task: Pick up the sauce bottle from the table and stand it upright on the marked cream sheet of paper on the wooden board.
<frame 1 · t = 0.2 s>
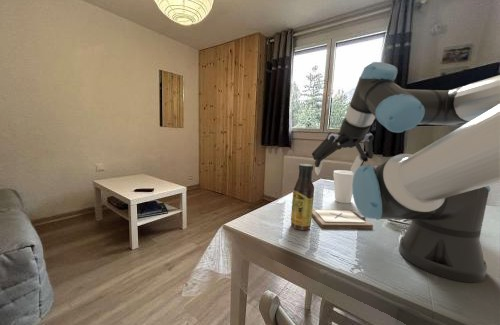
hand: (334, 172, 75), 16 cm above the table, tool tilted 35°, fingers open, 13 cm apart
foam cup: (342, 201, 93), on the table
wooden board: (338, 219, 72), on the table
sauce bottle: (300, 227, 66), on the table
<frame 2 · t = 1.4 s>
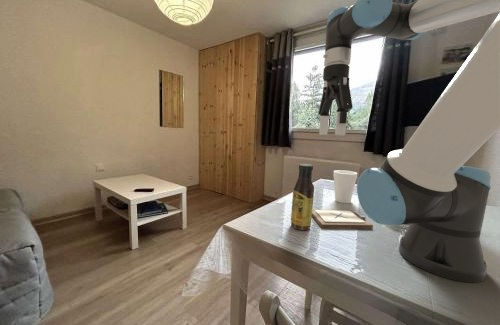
hand: (330, 134, 69), 29 cm above the table, tool pointing down, fingers open, 13 cm apart
nothing on the table moved.
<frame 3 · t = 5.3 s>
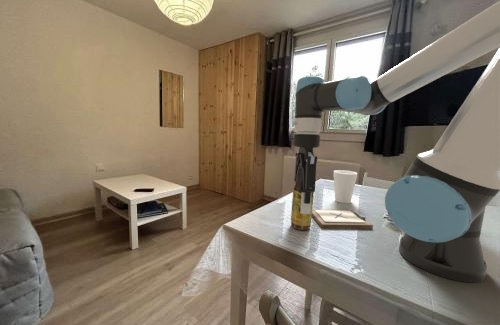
hand: (302, 208, 65), 6 cm above the table, tool pointing down, fingers closed on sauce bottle, 6 cm apart
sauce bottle: (300, 227, 66), on the table, touching gripper
everything else where it was.
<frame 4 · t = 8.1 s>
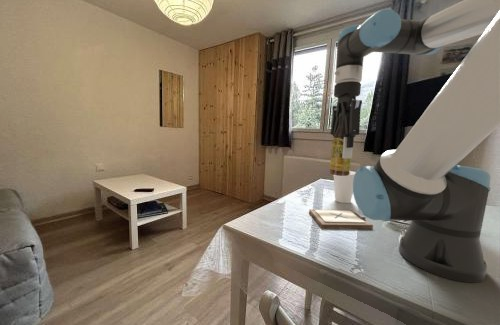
hand: (341, 157, 68), 22 cm above the table, tool pointing down, fingers closed on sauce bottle, 6 cm apart
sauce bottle: (339, 175, 69), point 16 cm above the table, touching gripper
everything else where it was.
when the fingers open (9 cm above the table, at t = 11.0 s): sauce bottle drops 1 cm, resting on wooden board.
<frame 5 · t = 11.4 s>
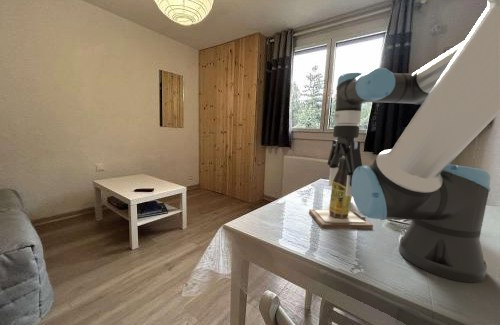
hand: (340, 190, 71), 10 cm above the table, tool pointing down, fingers open, 12 cm apart
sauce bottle: (338, 216, 71), point 1 cm above the table, touching wooden board
everything else where it was.
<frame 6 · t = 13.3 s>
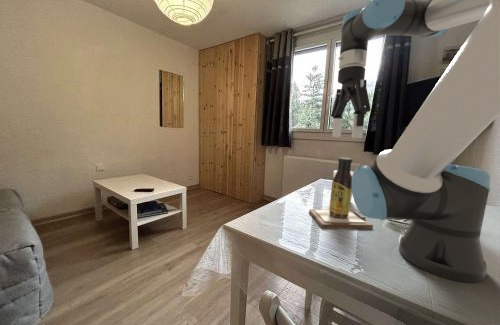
hand: (345, 137, 68), 28 cm above the table, tool pointing down, fingers open, 13 cm apart
nothing on the table moved.
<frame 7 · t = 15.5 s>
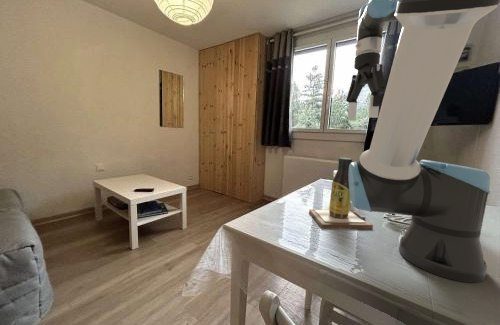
hand: (361, 118, 74), 35 cm above the table, tool pointing down, fingers open, 13 cm apart
nothing on the table moved.
at the end: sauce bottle inside the target area on the wooden board (0.3 cm from its centre), point 1.4 cm above the wooden board's base; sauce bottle tilted 0°; the gripper is holding nothing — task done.
